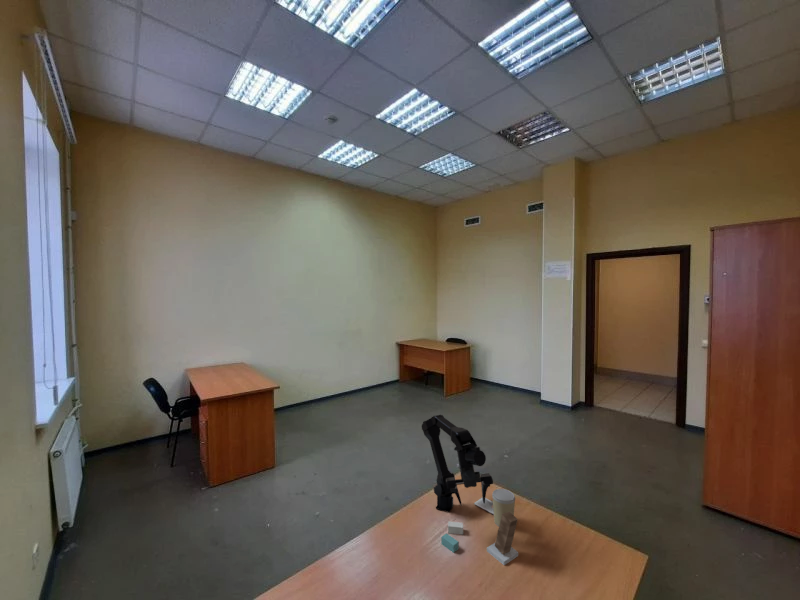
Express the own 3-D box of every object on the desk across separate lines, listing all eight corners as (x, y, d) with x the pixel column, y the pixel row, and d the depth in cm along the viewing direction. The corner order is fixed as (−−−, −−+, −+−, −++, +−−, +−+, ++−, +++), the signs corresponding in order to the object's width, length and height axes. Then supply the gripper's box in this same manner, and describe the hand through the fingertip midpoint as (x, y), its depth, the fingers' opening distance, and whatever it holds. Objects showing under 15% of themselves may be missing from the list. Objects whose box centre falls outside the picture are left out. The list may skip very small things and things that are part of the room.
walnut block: (494, 545, 124) (502, 513, 122) (501, 542, 126) (509, 511, 125) (502, 554, 120) (510, 521, 119) (509, 551, 122) (517, 519, 121)
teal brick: (441, 544, 128) (441, 536, 128) (446, 540, 130) (446, 533, 130) (453, 553, 123) (453, 545, 123) (458, 549, 125) (458, 541, 125)
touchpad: (503, 521, 142) (503, 516, 142) (473, 505, 153) (473, 501, 153) (512, 513, 147) (512, 508, 147) (483, 499, 158) (483, 494, 158)
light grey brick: (448, 533, 134) (448, 526, 134) (448, 528, 137) (448, 521, 137) (463, 535, 133) (463, 527, 133) (462, 530, 136) (462, 522, 136)
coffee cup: (512, 516, 144) (512, 488, 144) (517, 531, 135) (517, 501, 135) (490, 514, 145) (490, 487, 145) (494, 529, 136) (494, 500, 136)
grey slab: (486, 552, 124) (486, 547, 124) (500, 544, 129) (500, 539, 129) (504, 567, 118) (504, 561, 118) (518, 557, 122) (518, 552, 122)
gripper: (444, 470, 130) (450, 514, 126) (491, 464, 129) (499, 509, 125) (443, 463, 141) (449, 504, 137) (487, 458, 140) (494, 499, 136)
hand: (472, 504), depth 133 cm, fingers open, 9 cm apart
